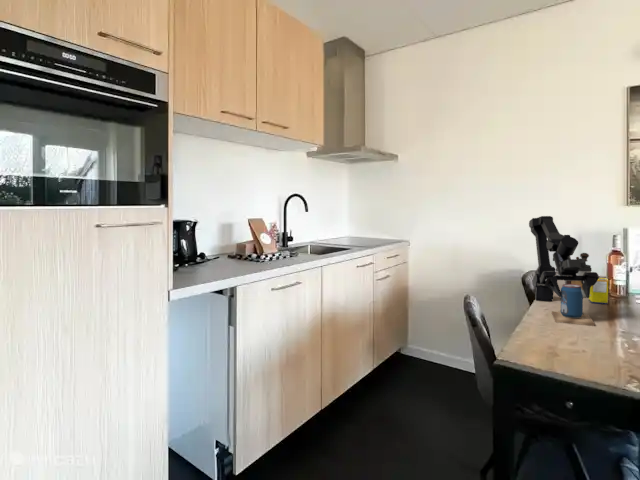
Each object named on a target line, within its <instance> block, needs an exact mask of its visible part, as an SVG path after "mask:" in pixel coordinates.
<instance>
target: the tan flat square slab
mask: <svg viewBox="0 0 640 480" xmlns="http://www.w3.org/2000/svg"><path fill="white" fill-rule="evenodd" d="M551 314H552V315H551V316H552V318H553V320H554V322H555V323H561V322H563V324H570V323H571V325H580V324H581V325H580V326H592V327H593V326H595V322H594V321H593V319H592V318H591V317H590V315H589V314H585V313H583V315H582V316H581V317H580V318H567V317H564V316H563V315H562V314H561V311H551Z"/></svg>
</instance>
